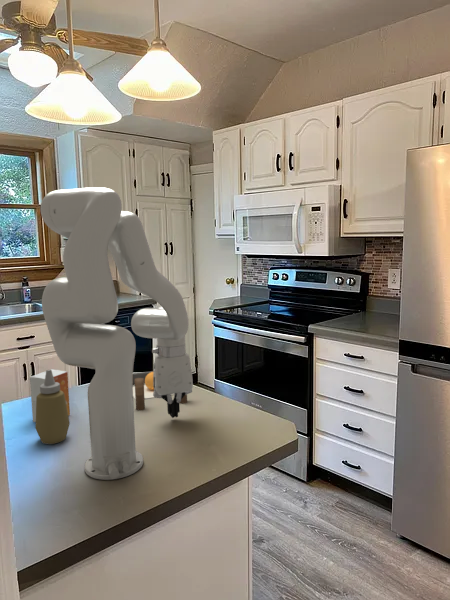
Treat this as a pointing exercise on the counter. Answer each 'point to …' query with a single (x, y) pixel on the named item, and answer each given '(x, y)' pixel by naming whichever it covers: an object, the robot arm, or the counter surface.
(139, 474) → the counter surface
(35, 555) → the counter surface
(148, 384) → the ball
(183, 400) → the right post
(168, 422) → the counter surface
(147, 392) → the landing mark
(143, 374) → the stopper wall
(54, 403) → the squeeze bottle
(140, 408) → the left post
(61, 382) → the small box
